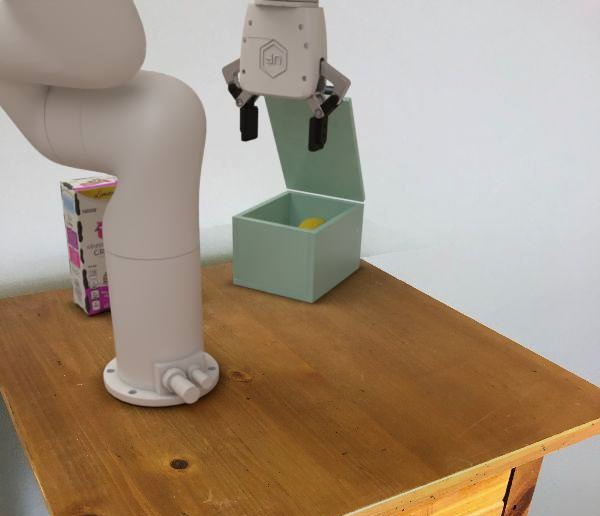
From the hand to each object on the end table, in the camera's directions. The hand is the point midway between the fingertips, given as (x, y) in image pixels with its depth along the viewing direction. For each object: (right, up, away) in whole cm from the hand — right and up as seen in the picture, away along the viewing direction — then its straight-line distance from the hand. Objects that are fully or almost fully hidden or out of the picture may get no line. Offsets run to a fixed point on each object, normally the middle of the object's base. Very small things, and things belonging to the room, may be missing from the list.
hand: (282, 144), depth 95 cm
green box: (+2, -14, +16) cm, 21 cm away
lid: (+4, +3, +10) cm, 11 cm away
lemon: (+2, -12, +15) cm, 19 cm away
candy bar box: (-22, -19, +6) cm, 30 cm away
